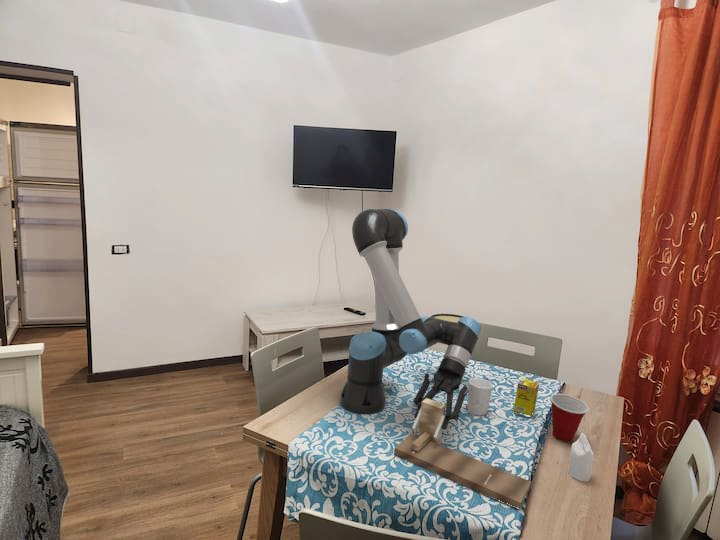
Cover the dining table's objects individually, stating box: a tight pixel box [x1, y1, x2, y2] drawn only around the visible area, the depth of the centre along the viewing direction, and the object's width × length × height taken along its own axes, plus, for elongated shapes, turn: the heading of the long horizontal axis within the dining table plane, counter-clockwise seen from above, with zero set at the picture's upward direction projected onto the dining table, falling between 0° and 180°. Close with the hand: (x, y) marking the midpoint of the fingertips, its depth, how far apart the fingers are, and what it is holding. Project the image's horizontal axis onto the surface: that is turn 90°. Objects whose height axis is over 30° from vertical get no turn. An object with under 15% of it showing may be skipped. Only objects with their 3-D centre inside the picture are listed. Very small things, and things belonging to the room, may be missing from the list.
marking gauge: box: [412, 398, 446, 451], centre depth 127 cm, size 6×11×12 cm, turn 146°
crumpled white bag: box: [567, 432, 595, 483], centre depth 121 cm, size 6×12×6 cm
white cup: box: [466, 377, 494, 416], centre depth 153 cm, size 8×8×10 cm
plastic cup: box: [550, 393, 589, 443], centre depth 140 cm, size 11×11×12 cm
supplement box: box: [513, 377, 540, 416], centre depth 154 cm, size 6×6×11 cm
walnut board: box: [393, 432, 532, 510], centre depth 120 cm, size 34×10×2 cm, turn 56°
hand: (425, 434), depth 128 cm, fingers closed on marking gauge, 6 cm apart
